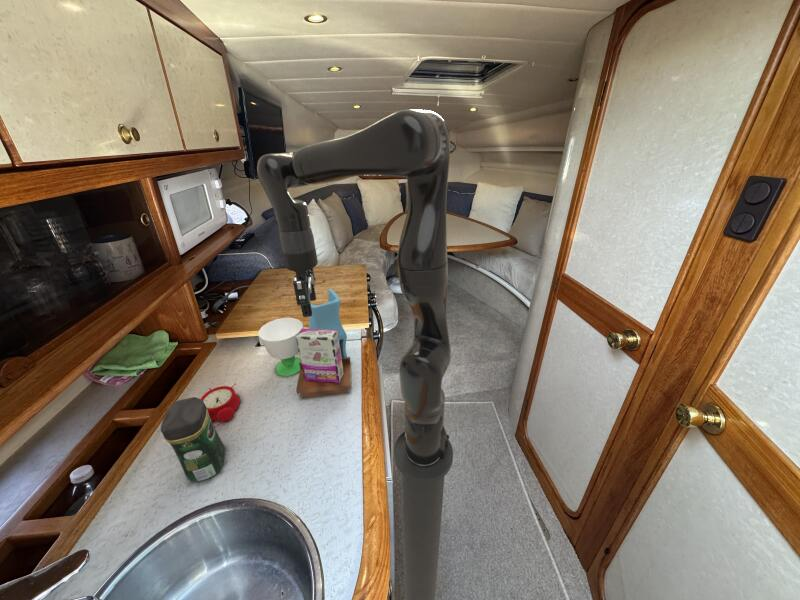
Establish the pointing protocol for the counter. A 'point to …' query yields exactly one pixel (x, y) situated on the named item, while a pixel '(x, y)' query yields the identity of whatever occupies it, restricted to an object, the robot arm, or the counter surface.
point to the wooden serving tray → (323, 388)
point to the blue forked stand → (329, 319)
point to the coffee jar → (193, 439)
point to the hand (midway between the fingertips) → (310, 307)
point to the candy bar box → (320, 355)
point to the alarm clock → (221, 403)
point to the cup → (282, 343)
